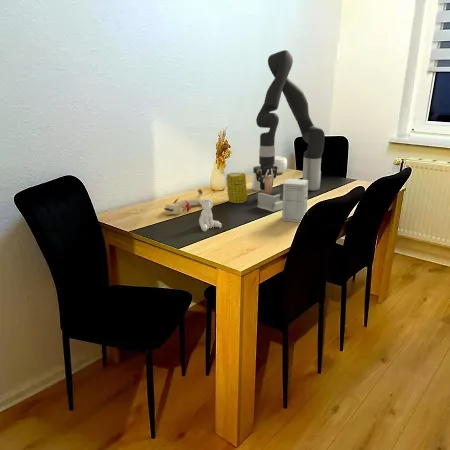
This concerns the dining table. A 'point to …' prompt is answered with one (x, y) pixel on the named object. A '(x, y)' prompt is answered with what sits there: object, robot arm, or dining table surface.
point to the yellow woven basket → (236, 187)
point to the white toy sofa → (269, 202)
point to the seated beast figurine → (207, 216)
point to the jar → (255, 179)
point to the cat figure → (182, 204)
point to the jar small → (267, 184)
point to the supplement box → (294, 199)
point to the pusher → (281, 192)
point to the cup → (280, 164)
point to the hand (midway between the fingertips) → (266, 188)
